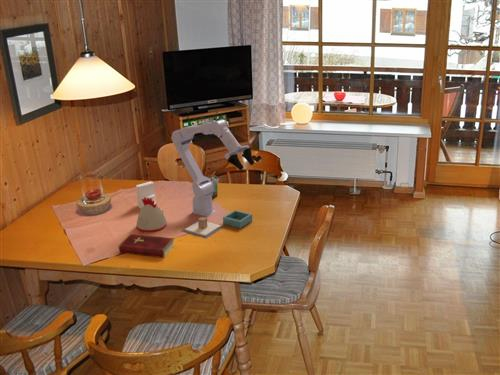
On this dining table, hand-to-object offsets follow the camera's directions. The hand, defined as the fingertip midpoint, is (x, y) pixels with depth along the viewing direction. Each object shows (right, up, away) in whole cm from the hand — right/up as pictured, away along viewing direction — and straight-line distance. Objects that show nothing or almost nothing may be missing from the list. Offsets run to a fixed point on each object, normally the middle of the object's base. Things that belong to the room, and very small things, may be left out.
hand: (247, 166), depth 256 cm
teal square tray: (-5, -27, +14) cm, 31 cm away
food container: (-18, -14, +48) cm, 53 cm away
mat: (-21, -29, +9) cm, 37 cm away
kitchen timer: (-45, -28, +13) cm, 55 cm away
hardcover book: (-44, -37, -8) cm, 58 cm away
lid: (-21, -29, +9) cm, 37 cm away
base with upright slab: (-52, -19, +38) cm, 67 cm away
